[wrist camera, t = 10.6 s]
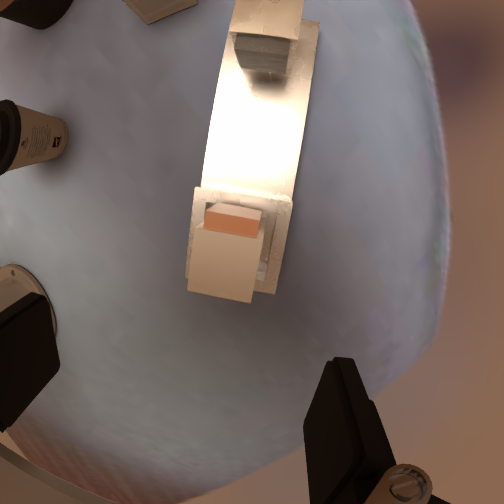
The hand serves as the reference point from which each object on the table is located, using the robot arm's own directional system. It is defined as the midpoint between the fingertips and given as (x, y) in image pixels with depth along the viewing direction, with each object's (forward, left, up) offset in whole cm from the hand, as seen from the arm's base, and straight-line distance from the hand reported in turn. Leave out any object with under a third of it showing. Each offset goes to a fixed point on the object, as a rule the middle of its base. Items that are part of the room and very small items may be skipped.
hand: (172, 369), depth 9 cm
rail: (+8, 0, -20) cm, 21 cm away
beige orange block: (0, 0, -18) cm, 18 cm away
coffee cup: (+7, +22, -20) cm, 30 cm away
